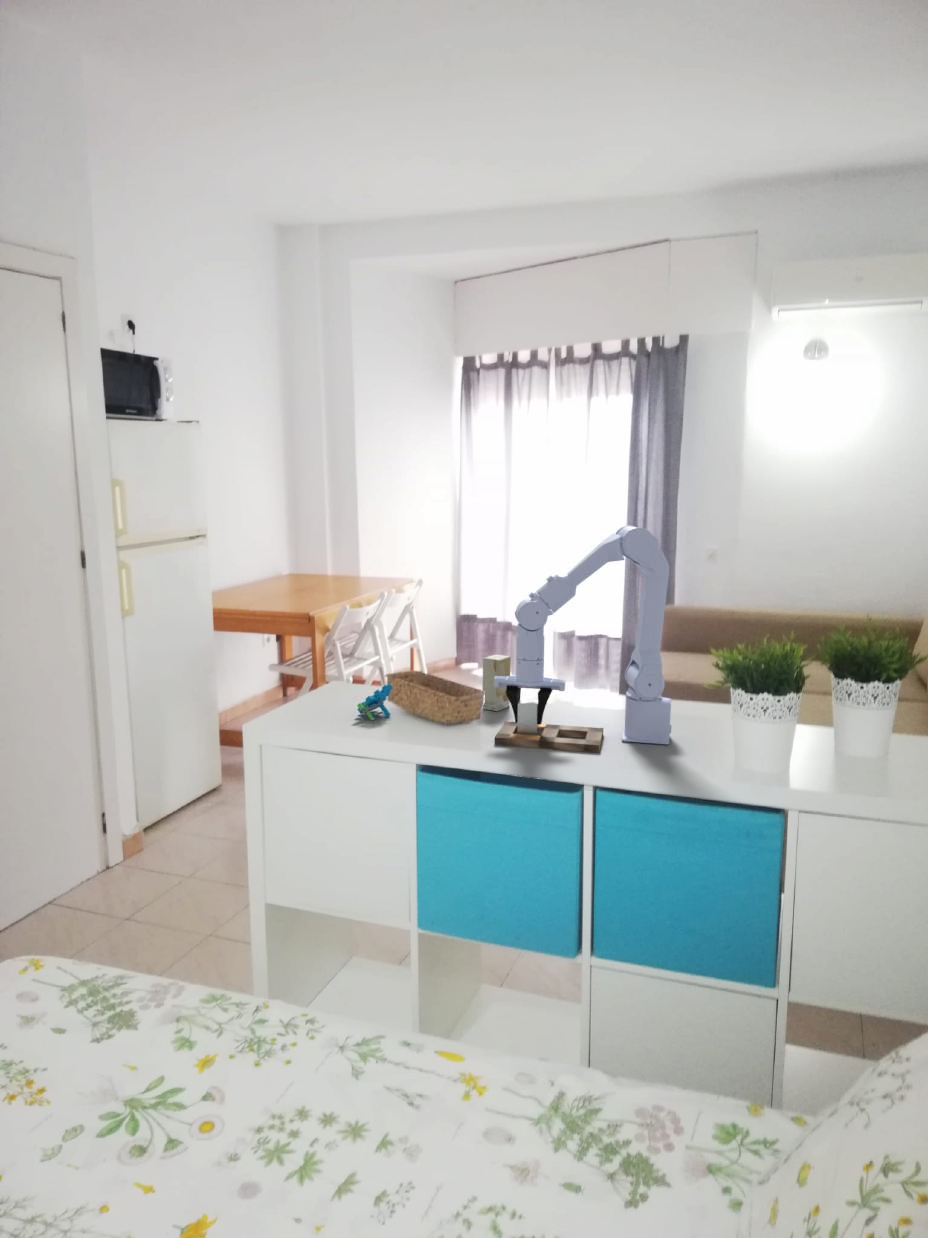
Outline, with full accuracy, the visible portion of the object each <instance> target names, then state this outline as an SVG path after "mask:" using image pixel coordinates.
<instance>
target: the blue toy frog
mask: <svg viewBox="0 0 928 1238" xmlns="http://www.w3.org/2000/svg"><path fill="white" fill-rule="evenodd" d="M390 684H391V683H389V684H388V685H387V684H385V685H384V686H382V687H381V690H380V689H376V690H375V691H374V692H373V695H368V696H367V697H366V698H365V701H363V702H360V703H358V704H357V705H356V706H357V711H358V713H359V714H360V715H362V714H363V715H367V716H368V718H369V719H370V721H371V722H373V721H375V718H374V717H373V715H372V714H371V713H370V712H372V711H374V710H376V709H378V708H380V709H381V711H382V712H383V714H385V715H384V716H385V717H387V718H389V717H390V716H391V715H392V713H390V711H389V710H388V708H387V707H386V705H384V702H385V701H386V700H387V699H388V698H387V697H389V693H390V690H391V689H392V685H390ZM388 716H389V717H388Z"/></svg>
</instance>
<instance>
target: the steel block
mask: <svg viewBox="0 0 928 1238" xmlns="http://www.w3.org/2000/svg"><path fill="white" fill-rule="evenodd" d="M537 718H538V698H537V699H536V698H535V699H533V698H520V701H519V702H518V723H517V733H516V734H522V735H536V736H539V735H538V734H539V724H538V721H537Z"/></svg>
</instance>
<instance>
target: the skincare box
mask: <svg viewBox="0 0 928 1238" xmlns="http://www.w3.org/2000/svg"><path fill="white" fill-rule="evenodd" d="M511 659H512V658H511V656H510V655H503V654H497V653H496V654H493V655H488V656H487V657H483V658H482V686H481V687H482V688H481V689H482V690H483V691H485V703H484V705H483V709H482V710H488V711H495V712H499V711H501V710H503V709H505V708H506V709H507V708H508V707H510V705H511V703H510V701H509V699H508V697H507V695H506V689H507V687H494V678H495V677H496V676H511Z"/></svg>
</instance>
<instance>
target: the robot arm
mask: <svg viewBox="0 0 928 1238" xmlns="http://www.w3.org/2000/svg"><path fill="white" fill-rule="evenodd" d="M660 545H661V544H660V542H659V538H657V537H656V536H655V535H654V534H653V533H651V532H650V530H648V529H646V528H644V527H637V526H635V525H631V524H628V525H625V526H622V527H620V528H619V529H617V530H616V532H615V533H614V532H613V533H612V534H610V535H608V536H607V537H606V538H605V539H603V540H602V541H601V542H600V543H599V544H598V545H597V546H596V547H595V548H593V549H592V551H591V550H590V552H589V553H588V554H587V555H586V556H584V557H583V558H582V559H581V560H580V561H579V562H578V563H577V564H576V565H575V566H574V567H573V568H571V570H569V571H568V572H567V573H557V574H555V575H554V576H552V575H549V576H548V577H547V578H546V581H547V582H546V583H544V584H543V585H542V586H541V587H540V588H538V589H537V590H535V592H533V591H531V592H530V593H528V596H529V598H526V599H523V600H522V601H519V603H518V605H517V606H516V609H515V611H514V617H515V619H516V620H517V622H518V623H517V625H516V626H517V627H516V637H515V638H516V639H515V641H516V642H515V643H516V644H515V675H510V676H496V677H495V678H494V687H507V689H506V695H507V697H508V699H509V701H510V707H511V709H512V711H513V717H514V722H515V723H518V702H519V701H520V699H521V690H522V689H533V690H538V692H537V700H538V718H537V721H538V724H541V723H543V717H544V714H545V713H544V712H545V709H546V706H547V704H548V701H549V698H550V696H551V694H552V693H553V691H559V692H565V690H566V680H565V679H558V678H557V679H556V678H550V677H545V676H544V673H545V671H544V669H545V635H544V634H545V633H544V631H545V630H544V627H545V625H546V624H547V622H548V617H549V616H552V615H554V614H555V613H556V612H557V611H559V610H560V609H561V608H562V607H563V606H565V605H566V604H567V603H568V602H569V601H570V600H572V599H573V598H574V597H575V596H576V591H577V587H578V586H579V585H580V584H582V583H583V582H584V581H586V579H588V578H589V577H591V576H592V575H593V574H595V573H596V572H597V571H599V570H600V569H601V568H603V566H605V565H607V563H611V562H619V561H620V562H621V561H625V558H627V559H628V560H630V561H632V562H633V564H634V565H635V566H636V567H638V570H640V571H641V572H642V583H641V589H640V591H641V592H640V601H639V607H638V608H639V609H638V618H637V627H636V637H635V643H634V644H635V645H634V648H633V651H632V653H631V654H630V655H631V657H630V661H629V664H628V665H627V667H626V669H625V670H624V679H625V683H626V684H627V685H628V689H627V691H626V692H625V706H624V707H625V710H624V711H625V714H624V716H625V717H624V728H623V729H622V734H621V735H622V736H621V741H622V742H630V743H641V744H642V743H643V744H644V743H645V744H655V745H657V744H658V745H669V744H670V734H672V724H671V709H672V708H671V706H672V698H670V697H663V696H662V693H664V690H665V685H666V680H665V678H664V676H663V661H662V657H661V644H662V637H663V636H662V635H663V628H664V619H665V611H666V604H667V603H666V601H667V594H668V585H669V577H670V576H669V575H670V564H669V562H668V560H667V558H666V556H665V554H664V552H663V550H662V548H661V546H660Z"/></svg>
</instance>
